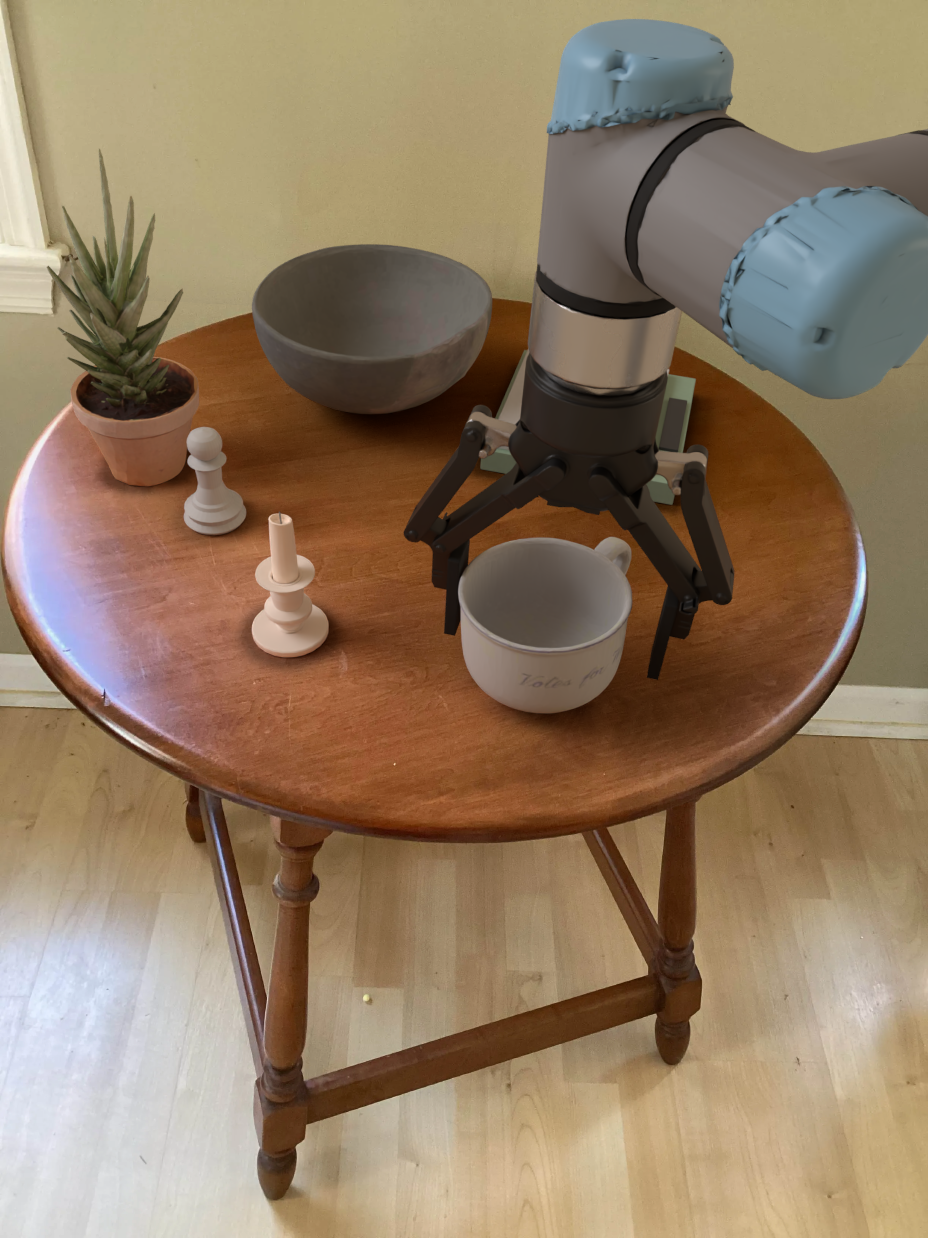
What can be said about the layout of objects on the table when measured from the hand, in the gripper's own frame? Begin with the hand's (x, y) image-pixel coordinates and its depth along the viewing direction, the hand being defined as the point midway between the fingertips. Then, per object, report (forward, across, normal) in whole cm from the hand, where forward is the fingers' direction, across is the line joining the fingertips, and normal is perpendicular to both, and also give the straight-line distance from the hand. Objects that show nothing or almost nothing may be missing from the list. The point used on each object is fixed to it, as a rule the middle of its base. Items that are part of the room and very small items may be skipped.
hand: (553, 643), depth 70 cm
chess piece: (+2, +28, -8) cm, 29 cm away
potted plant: (+2, +36, -13) cm, 38 cm away
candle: (+2, +18, +2) cm, 18 cm away
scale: (+2, +2, -29) cm, 29 cm away
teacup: (+2, 0, 0) cm, 2 cm away
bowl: (+2, +22, -29) cm, 36 cm away
